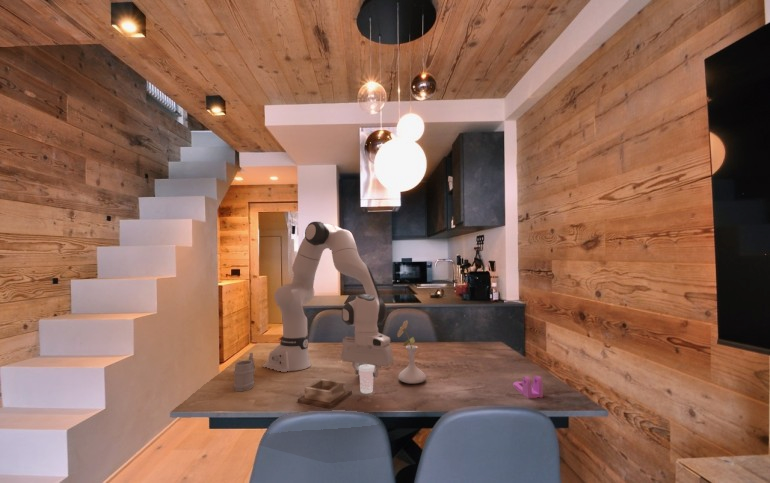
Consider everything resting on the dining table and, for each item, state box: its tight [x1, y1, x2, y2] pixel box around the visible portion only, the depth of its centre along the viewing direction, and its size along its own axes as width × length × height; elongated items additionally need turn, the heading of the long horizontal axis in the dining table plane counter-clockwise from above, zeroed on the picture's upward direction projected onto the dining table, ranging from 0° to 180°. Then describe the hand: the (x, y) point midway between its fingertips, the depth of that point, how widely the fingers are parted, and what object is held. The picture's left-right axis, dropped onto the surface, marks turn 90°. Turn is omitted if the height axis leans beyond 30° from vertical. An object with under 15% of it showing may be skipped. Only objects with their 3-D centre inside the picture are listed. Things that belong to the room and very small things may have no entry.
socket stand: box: [296, 378, 353, 409], centre depth 127 cm, size 14×14×4 cm
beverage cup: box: [358, 364, 376, 394], centre depth 132 cm, size 6×6×14 cm
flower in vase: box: [396, 320, 427, 385], centre depth 143 cm, size 13×11×25 cm
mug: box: [232, 352, 256, 392], centre depth 140 cm, size 8×12×12 cm, turn 174°
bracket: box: [513, 375, 544, 399], centre depth 131 cm, size 13×6×7 cm, turn 7°
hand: (366, 375), depth 132 cm, fingers closed on beverage cup, 6 cm apart
